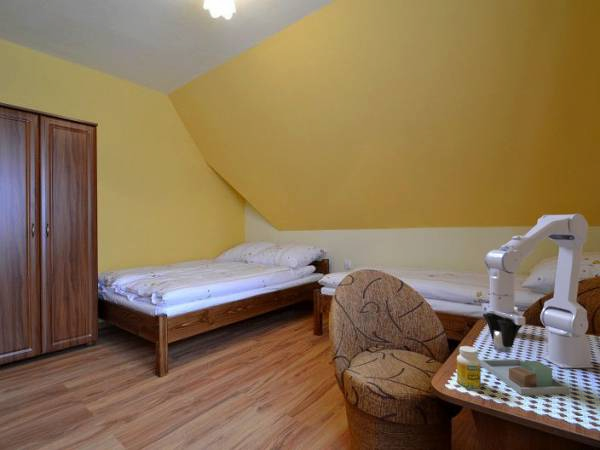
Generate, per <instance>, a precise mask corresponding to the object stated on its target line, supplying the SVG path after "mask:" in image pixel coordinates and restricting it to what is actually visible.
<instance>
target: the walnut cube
mask: <svg viewBox="0 0 600 450" xmlns="http://www.w3.org/2000/svg"><path fill="white" fill-rule="evenodd" d="M509 379H510V380H511V381H513V382H514V383H516V384H517V385H518V386H520V387H521V388H525V387H536V373H534V372H532V371H530V370H528V369H525V368H523V367H521V366H520V367H514V368H509Z"/></svg>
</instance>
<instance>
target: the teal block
mask: <svg viewBox="0 0 600 450" xmlns="http://www.w3.org/2000/svg"><path fill="white" fill-rule="evenodd" d="M521 367H523V368H525V369H528V370H530V371H532V372H534V373H536V387H552V378H553V367H552V368H551V367H550V366H548V365H546V364H544V363H542V362H541V361H540V360H523V361H521Z"/></svg>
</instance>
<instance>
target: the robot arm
mask: <svg viewBox="0 0 600 450" xmlns="http://www.w3.org/2000/svg"><path fill="white" fill-rule="evenodd" d="M588 228H589V223H588V221H587V220H586V218H585V217H584V215H583V214H580V213H574V214H572V213H571V214H544V215H542V216H541V217H539V218H538V219H537V223H536V224H535V225H534V226H533V227H532V228H531V229H530V230H529V231H528V232H526V233H525V234H524V235H514V236H512V237H511V240H509V241H508V242H507V243H505V244H502V245H501V246H500V248H498V249H492V250H490V251H489V252H488V253H486V256H485V259H484V260H483V261H484V262H483V263H484V265H485V267H486V269H487V270H486V271H487V274H488V276H489V302H488V303H487V302H486V303H485V302H483V303H482V302H481V309H482V310H483V311H485V312H486V313H483V314H482V316H483V318H484V320H485V321H486V324H487V326H488V327H487V328H488V329H489V333H490V336H491V340H493V341H494V330H495V329H501V333H502V342H503V346H504V347H511V348H512V347H513V346H514V342H515V340H516V339H515V338H516V336H517V334H518V332H519V331H520V329H521V328H522V326H523V327H524V326H526V317H524V316H522V315H521V314H520V313H517V312H516V311H514V307H515V272H517V271H519V268H520V266H521V264H522V262H523V260H524V259H526V258H527V257H528V256H529V255H531V254H532V253H533V252H534V251H535V248H536V247H535V246H536V245H538V244H539V243H540V242H542V241H544V240H545V239H549V241H550V240H551V242H554V243H556V245H557V246H559V247H558V248H559V249H558V257H557V265H556V273H555V282H554V283H555V284H554V289H553V290H554V291H553V297H552V298H550V299H548V300H546V301H545V302H543V304H544V305H543V308H542V310H541V313H540V315H539V317H540V322H541V324H542V325H543V326H544V327H545V330H547V354H541V355H540V357H541V358H542V359H544V360H546V361H548V362H550V363H551V364H554V365H555V366H558V367H559V368H561V369H580V368H583V369H584V368H585V369H586V368H587V369H588V368H594V365H593V364H592V362H591V361H592V360H591V359H592V358H591V357H592V356H591V354H592V353H591V350H592V347H591V342H590V339H589V338H588V337H587V335H586V333H587V331H588V330H589V329H588V328H589V321H588V315H587V314H588V311H587V309H586V308H584V307H583V306H582V305H581V304H579V303H578V302H577V299H578V289H579V282H580V281H579V280H580V271H581V265H582V264H581V263H582V256H583V255H582V254H583V247H584V244H586V243H587V238H588V230H589V229H588Z"/></svg>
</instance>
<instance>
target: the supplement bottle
mask: <svg viewBox="0 0 600 450" xmlns="http://www.w3.org/2000/svg"><path fill="white" fill-rule="evenodd" d="M480 360H481V359H480V358H478V350H477V348H476V347H475V348H474V347H472V346H468V345H464V346H460V347H459V354H458V355H457V356H456V383H457V385H458V386H460V387H462V388H464V389H467V390H470V391H471V390H472V391H473V390H474V391H476V390H480V389H481V386H482V385H481V384H482V381H481V379H482V378H481V373H482V372H481V371H482V370H481V369H482V368H481V367H482V366H481V363H480Z"/></svg>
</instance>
